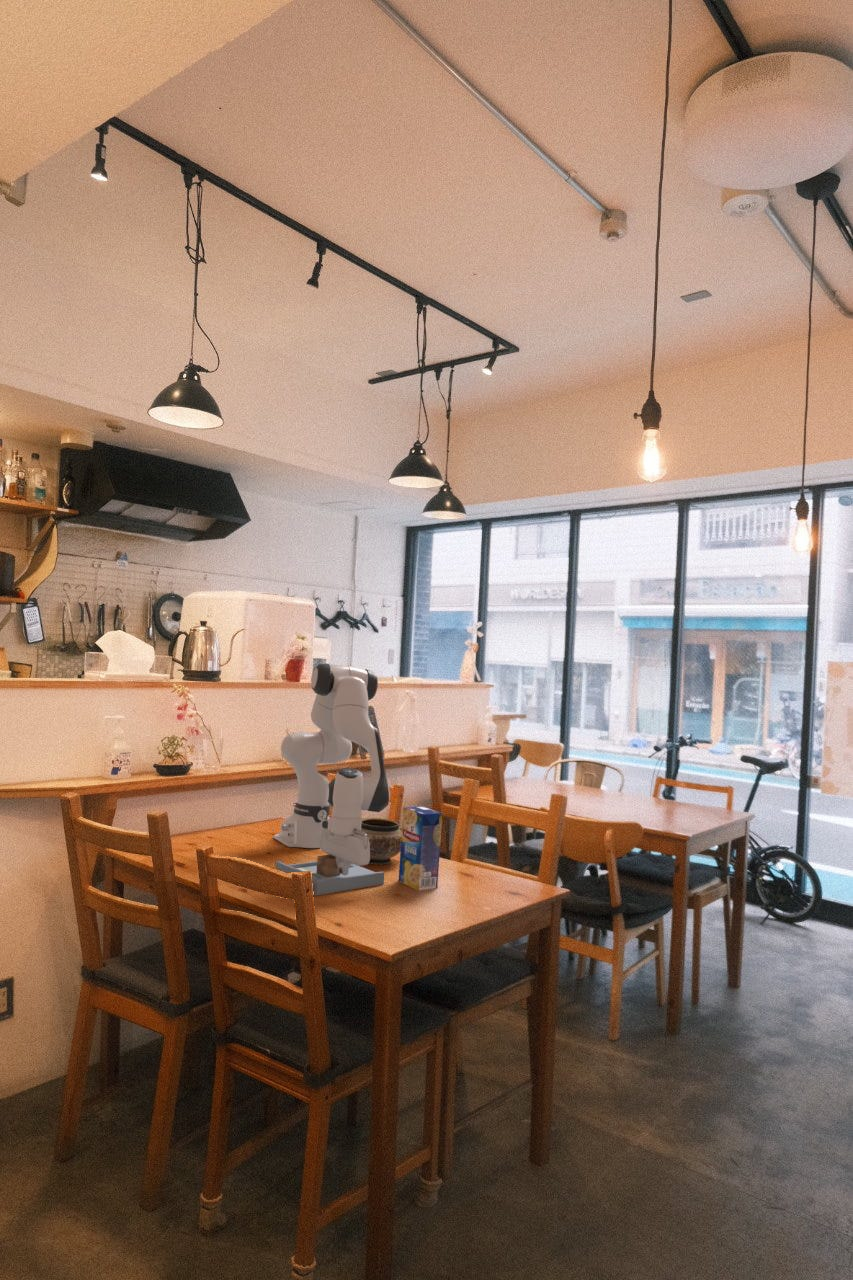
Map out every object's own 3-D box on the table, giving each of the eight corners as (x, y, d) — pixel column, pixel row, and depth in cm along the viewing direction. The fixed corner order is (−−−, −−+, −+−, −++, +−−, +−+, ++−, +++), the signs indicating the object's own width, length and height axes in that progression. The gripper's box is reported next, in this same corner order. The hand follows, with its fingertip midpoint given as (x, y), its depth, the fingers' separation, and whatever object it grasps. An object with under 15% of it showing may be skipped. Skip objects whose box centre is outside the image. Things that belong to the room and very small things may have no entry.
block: (316, 873, 243) (317, 856, 243) (330, 871, 246) (331, 854, 246) (326, 877, 239) (327, 859, 239) (340, 875, 242) (341, 857, 243)
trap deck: (274, 878, 243) (275, 861, 243) (343, 868, 260) (344, 852, 260) (313, 895, 228) (314, 877, 229) (383, 884, 245) (384, 867, 245)
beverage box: (417, 878, 254) (422, 806, 254) (437, 888, 245) (442, 813, 245) (398, 880, 250) (403, 807, 250) (418, 890, 241) (423, 814, 241)
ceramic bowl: (357, 879, 259) (368, 835, 256) (327, 852, 272) (337, 810, 269) (417, 870, 275) (427, 828, 272) (385, 845, 288) (395, 805, 285)
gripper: (377, 832, 234) (373, 881, 234) (334, 818, 250) (331, 864, 249) (359, 834, 230) (355, 884, 230) (317, 820, 245) (314, 867, 245)
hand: (342, 874), depth 240 cm, fingers closed
